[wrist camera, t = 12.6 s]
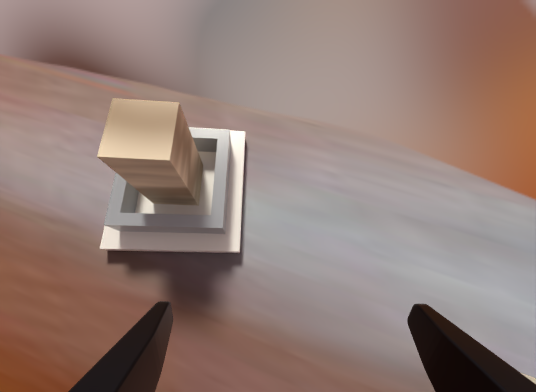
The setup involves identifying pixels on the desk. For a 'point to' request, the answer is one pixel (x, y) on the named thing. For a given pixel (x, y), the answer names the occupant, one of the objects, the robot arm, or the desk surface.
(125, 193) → the square tray
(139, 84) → the desk surface
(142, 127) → the block
